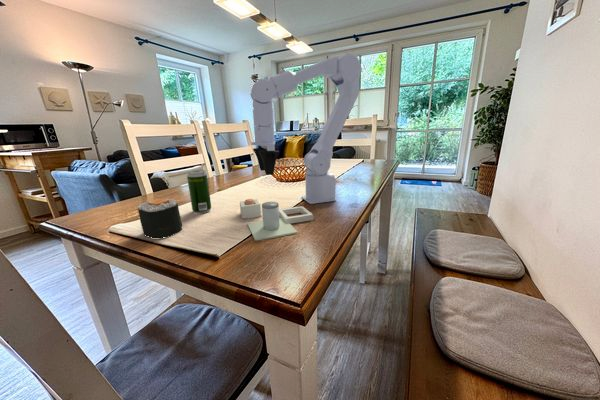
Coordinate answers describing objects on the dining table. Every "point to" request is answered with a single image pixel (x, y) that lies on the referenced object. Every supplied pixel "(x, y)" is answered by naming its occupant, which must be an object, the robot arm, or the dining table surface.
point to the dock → (295, 219)
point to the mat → (263, 234)
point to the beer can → (199, 191)
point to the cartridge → (270, 216)
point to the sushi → (160, 218)
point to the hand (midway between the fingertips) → (266, 172)
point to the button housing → (250, 209)
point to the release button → (249, 201)
